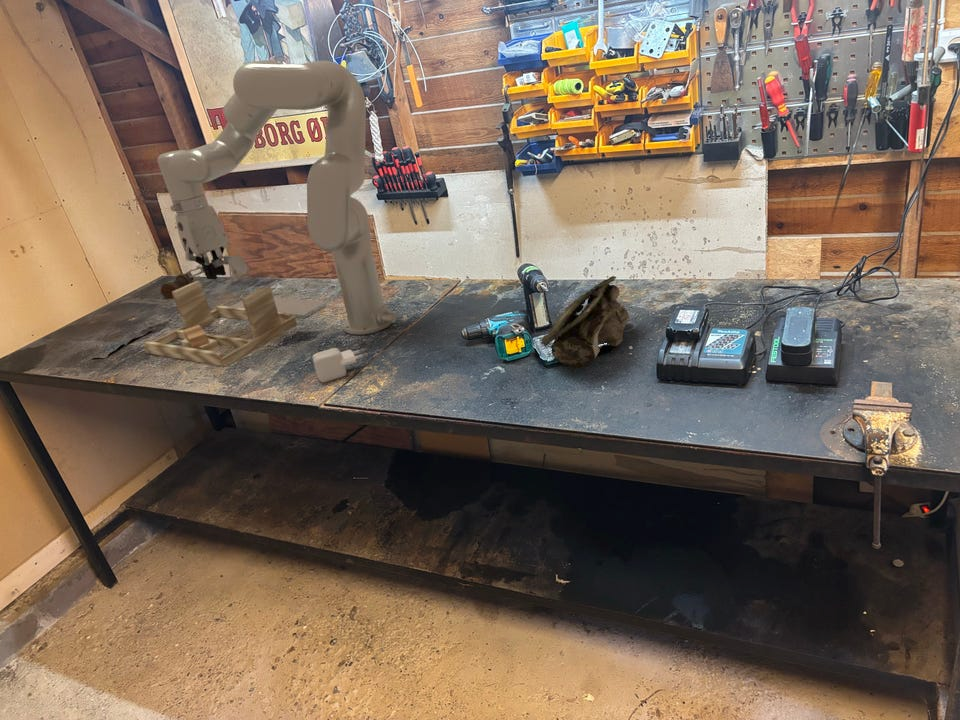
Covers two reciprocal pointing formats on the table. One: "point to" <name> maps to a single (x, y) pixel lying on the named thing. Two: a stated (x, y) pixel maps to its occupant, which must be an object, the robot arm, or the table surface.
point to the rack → (197, 312)
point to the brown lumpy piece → (175, 285)
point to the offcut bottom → (209, 346)
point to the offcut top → (196, 336)
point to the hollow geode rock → (588, 326)
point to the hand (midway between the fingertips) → (216, 276)
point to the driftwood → (120, 342)
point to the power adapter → (334, 363)
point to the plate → (293, 306)
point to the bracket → (235, 264)
